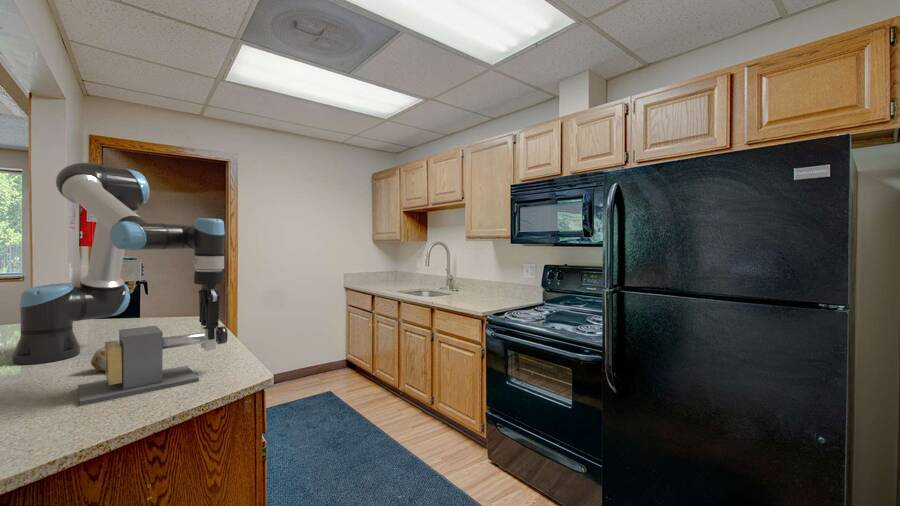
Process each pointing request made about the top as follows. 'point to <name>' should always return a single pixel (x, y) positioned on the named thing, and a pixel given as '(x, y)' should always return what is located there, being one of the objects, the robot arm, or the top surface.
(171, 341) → the shaft
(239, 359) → the top surface
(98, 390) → the mat
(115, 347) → the block
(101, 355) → the mug
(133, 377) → the bearing block
